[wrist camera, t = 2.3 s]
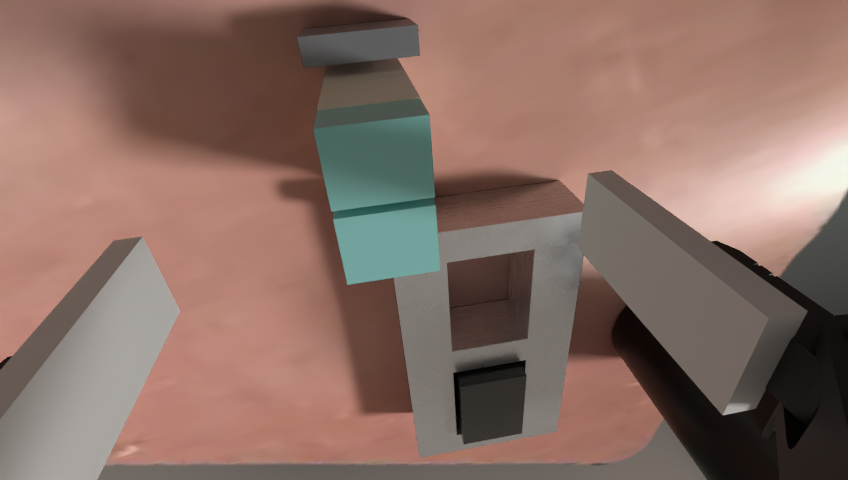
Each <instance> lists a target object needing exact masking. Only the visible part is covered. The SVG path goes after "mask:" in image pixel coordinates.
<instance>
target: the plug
mask: <svg viewBox="0 0 848 480" xmlns="http://www.w3.org/2000/svg"><path fill="white" fill-rule="evenodd" d="M313 131H314V136H315V140H316V145H317V149H318V154H319V158H320V163H321V167H322V172H323V176H324V181H325V185H326V190H327V195H328V199H329V204H330V208H331V212H332V211H333V222H334V226H335V231H336V235H337V240H338V244H339V249H340V254H341V258H342V263H343V267H344V272H345V276H346V281H347V285H350V284H357V283H363V282H370V281H376V280H383V279H389V278H396V277H402V276H409V275H415V274H422V273H428V272H435V271H440V260H439V245H438V231H437V216H436V204H435V202H434V199H433V198H434V197H435V187H434V172H433V158H432V143H431V129H430V115H429V113H428V111H427V110H426V108H425V106H424V104H423V103H422V101H421V99H420V96H419V94H418V93H417V91H416V89H415V88H414V86H413V84H412V83H411V81H410V79H409V77H408V76H407V74H406V72H405V71H404V69H403V67H402V65H401V64H400V62H399V60H398V59H397V58H393V59H384V60H375V61H365V62H356V63H347V64H338V65H329V66H326V71H325V75H324V79H323V84H322V88H321V93H320V97H319V101H318V106H317V113H316V118H315V122H314V127H313Z"/></svg>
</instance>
